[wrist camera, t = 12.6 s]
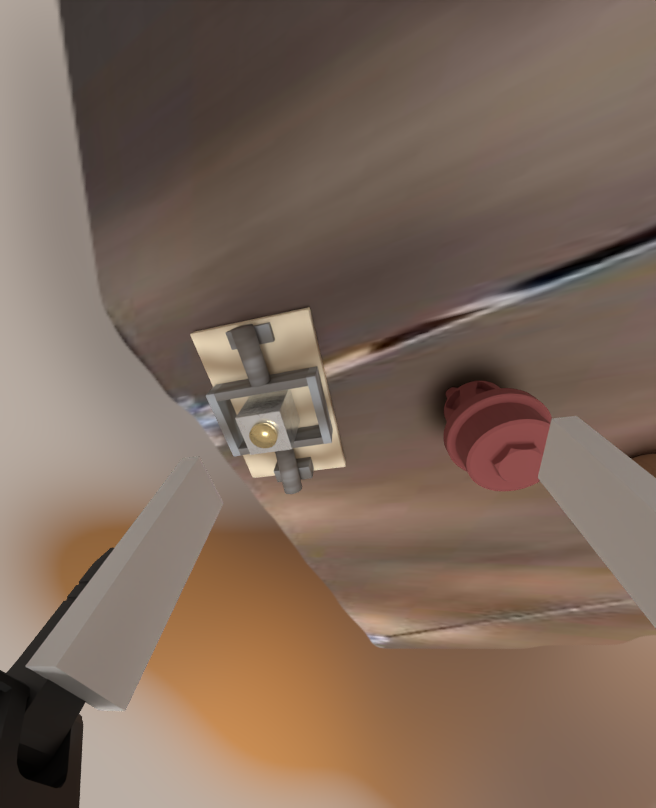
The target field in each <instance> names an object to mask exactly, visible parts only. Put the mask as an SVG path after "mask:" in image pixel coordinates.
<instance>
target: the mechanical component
mask: <svg viewBox="0 0 656 808" xmlns="http://www.w3.org/2000/svg"><path fill="white" fill-rule="evenodd" d="M446 397H447V401H446V403H445V406H444V416H445V419H446V421H447V423H446V426H445V429H444V444H445V447H446V450H447V452H448V454H449V456H450V457H451V459H452V461H453V462H454V463H455V464H456V465H457V466H458V467H460V468H461V469H463V470H465V471H467V472H468V474H469V475H470V477H471V479H472V480H473V481H474V482H475V483H477V484H478V485H480V486H482V487H484V488H486V489H489V490H494V491H513V490H519V489H523V488H526V487H529V486H531V485H533V484H536V483H538V482H539V481H540V480H539V479H538V474H539V470H540V466H541V462H542V457H543V453H544V449H545V445H546V441H547V436H548V432H549V428H550V424H551V420H552V417H551V414H550V412H549V411H548V409H547V408H546V407H545V406H544V404H543V403H541V402H540V401H539V400H538V399H536V398H535V397H534V396H532V395H531V394H529V393H527V392H524V391H522V390H518V389H511V388H499V387H498V386H497V385H495V384H494V383H491V382H488V381H473V382H469V383H466V384H464V385H462V386H460V387H459V388H455V387H452V388H450V389H448V390H447V391H446Z"/></svg>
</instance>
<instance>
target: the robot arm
mask: <svg viewBox="0 0 656 808" xmlns="http://www.w3.org/2000/svg"><path fill="white" fill-rule="evenodd" d="M538 479H539V480H540V481H541V483H542V484H543V485H544V486H545V488H546V489H547V490H548V491H549V493H550V494H551V495H552V497H553V498H554V499H555V500H556V502H557V503H558V504H559V506H560V507H561V508H562V509H563V511H564V512H565V513H566V514H567V516H568V517H569V518H570V520H571V521H572V522H573V523H574V525H575V526H576V527H577V529H578V530H579V531H580V532H581V534H582V535H583V536H584V537H585V539H586V540H587V541H588V543H589V544H590V545H591V546H592V548H593V549H594V550H595V551H596V553H597V554H598V555H599V557H600V558H601V559H602V560H603V562H604V563H605V564H606V566H607V567H608V568H609V569H610V571H611V572H612V573H613V574H614V576H615V577H616V578H617V580H618V581H619V582H620V583H621V585H622V586H623V587H624V589H625V590H626V591H627V592H628V594H629V595H630V596H631V597H632V599H633V600H634V601H635V603H636V604H637V605H638V606H639V608H640V609H641V610H642V611H643V613H644V614H645V615H646V617H647V618H648V619H649V620H650V622H651V623H652V624H653V626H654V627H655V628H656V478H655V477H654V476H652V475H651V474H650V473H649V472H647V471H646V470H645V469H643V468H642V467H641V466H640V465H638V464H637V463H636V462H635V461H633V460H632V459H631V458H629V457H628V456H627V455H626V454H624V453H623V452H622V451H621V450H619V449H618V448H617V447H615V446H614V445H613V444H612V443H610V442H609V441H608V440H607V439H605V438H604V437H603V436H601V435H600V434H599V433H598V432H596V431H595V430H594V429H593V428H591V427H590V426H589V425H587V424H586V423H585V422H584V421H582V420H581V419H580V418H579V417H577V416H571V417H562V418H553V419H552V420H551V424H550V428H549V432H548V436H547V441H546V445H545V449H544V453H543V457H542V462H541V466H540V470H539V474H538ZM222 505H223V501H222V499H221V497H220V495H219V493H218V491H217V489H216V487H215V486H214V483H213V482H212V480H211V478H210V476H209V474H208V472H207V470H206V468H205V466H204V464H203V462H202V460H201V458H200V457H189V458H183V459H182V460H181V461H180V462H179V464H178V465H177V466H176V468H175V469H174V470H173V471H172V473H171V474H170V475H169V477H168V478H167V480H166V481H165V482H164V483H163V485H162V486H161V487H160V489H159V490H158V491H157V493H156V494H155V495H154V497H153V498H152V499H151V501H150V502H149V503H148V505H147V506H146V507H145V508H144V510H143V511H142V512H141V514H140V515H139V517H138V518H137V519H136V520H135V522H134V523H133V524H132V526H131V527H130V528H129V530H128V531H127V532H126V534H125V535H124V536H123V538H122V539H121V540H120V542H119V543H118V544H117V546H116V547H115V548H110V549H109V550H108V551H107V552H106V553H105V554H104V555H102V556H101V557H100V558H99V559H98V560H97V561H96V562H95V563H94V564H93V565H92V566H91V567H90V568H89V570H88V571H87V572H86V573H85V575H84V576H83V577H82V579H81V580H80V581H79V585H76V586H75V587H74V589H73V590H72V591H71V593H70V594H69V595H68V596H67V600H66V601H63V603H62V604H61V605H60V607H59V608H58V609H57V611H56V612H55V613H54V614H53V616H52V617H51V618H50V619H49V621H48V622H47V623H46V625H45V626H44V627H43V628H42V630H41V631H40V632H39V633H38V635H37V636H36V637H35V639H34V640H33V641H32V642H31V644H30V645H29V646H28V647H27V649H26V650H25V651H24V652H23V654H22V655H21V656H20V658H19V659H18V660H17V661H16V662H15V664H14V665H13V666H12V667H11V668H10V670H9V671H8V672H7V673H5V672H3V671H1V670H0V808H79V799H80V779H81V759H82V738H83V721H82V716H81V715H80V714H79V713H80V711H81V709H82V707H83V706H84V704H85V702H86V703H88V704H89V705H91V706H93V707H94V708H96V709H98V710H108V711H125V710H126V708H127V706H128V704H129V702H130V700H131V697H132V695H133V693H134V691H135V689H136V686H137V685H138V683H139V680H140V678H141V676H142V674H143V672H144V670H145V668H146V666H147V664H148V661H149V659H150V657H151V655H152V653H153V651H154V649H155V647H156V644H157V643H158V640H159V638H160V636H161V634H162V632H163V630H164V628H165V626H166V623H167V621H168V619H169V617H170V615H171V613H172V611H173V609H174V607H175V604H176V602H177V600H178V598H179V596H180V594H181V592H182V590H183V588H184V585H185V583H186V581H187V579H188V577H189V575H190V573H191V571H192V569H193V566H194V564H195V562H196V560H197V558H198V556H199V554H200V552H201V550H202V547H203V545H204V543H205V541H206V539H207V537H208V535H209V532H210V530H211V529H212V526H213V524H214V522H215V520H216V518H217V516H218V514H219V512H220V509H221V507H222Z"/></svg>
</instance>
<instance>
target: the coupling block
mask: <svg viewBox="0 0 656 808" xmlns="http://www.w3.org/2000/svg"><path fill="white" fill-rule="evenodd" d="M235 419H236V422H237V424H238V426H239V429H240V431H241V433H242V436H243V438H244V441H245V443H246V445H247V448H248V450H249V452H250V455H254V454H261V453H268V452H275V451H283V450H290V449H292V448H293V444H294V441H295V437H296V433H297V430H298V426H299V423H300V419H299V416H298V413H297V410H296V406H295V403H294V400H293V396H292V393H291V390H290V389H288V390H282V391H276V392H270V393H264V394H258V395H252V396H249V398H248V400H247V401H246V403H245V404H244V406H243V407H242V409H241V410H240V412H239V413H238V415H237V416H236V418H235Z"/></svg>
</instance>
